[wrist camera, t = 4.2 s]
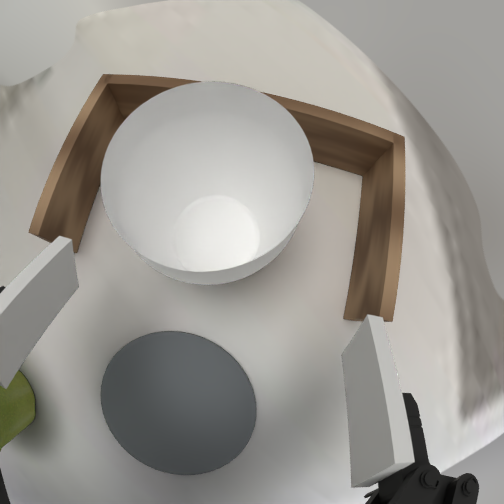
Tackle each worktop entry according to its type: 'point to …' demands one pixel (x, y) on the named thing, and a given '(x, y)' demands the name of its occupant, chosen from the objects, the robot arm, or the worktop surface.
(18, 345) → the robot arm
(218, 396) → the disc
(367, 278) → the u-shaped wooden rail
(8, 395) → the plant pot
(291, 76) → the worktop surface
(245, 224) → the cup
